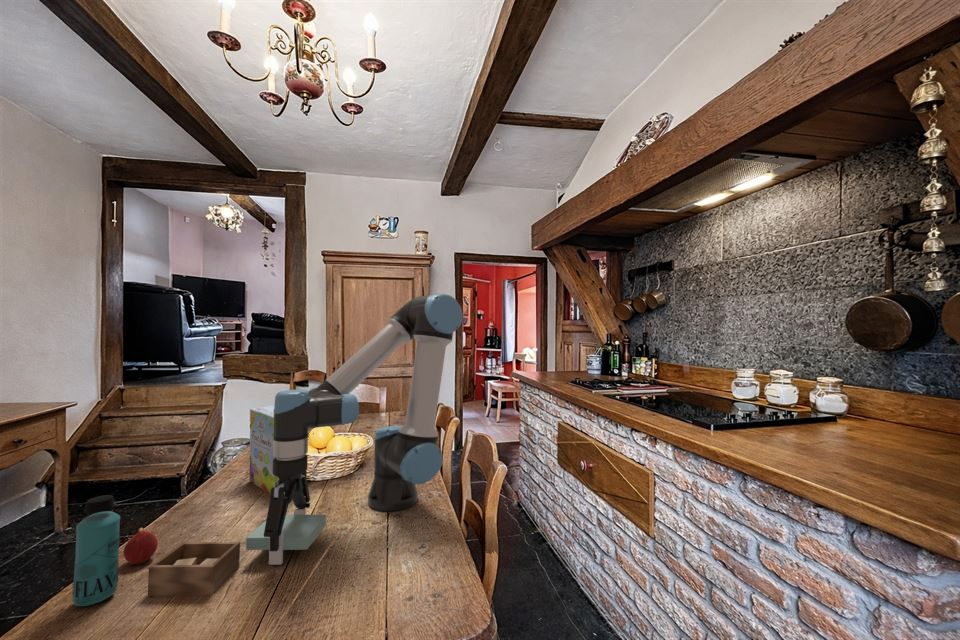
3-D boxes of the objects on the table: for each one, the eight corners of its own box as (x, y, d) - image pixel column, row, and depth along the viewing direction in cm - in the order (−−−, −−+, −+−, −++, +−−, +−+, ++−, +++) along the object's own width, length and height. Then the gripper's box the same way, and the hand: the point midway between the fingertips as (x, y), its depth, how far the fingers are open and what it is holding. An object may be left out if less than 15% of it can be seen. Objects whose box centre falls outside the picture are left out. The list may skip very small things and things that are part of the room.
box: (239, 569, 88) (240, 542, 89) (211, 597, 79) (212, 566, 79) (181, 570, 88) (182, 542, 88) (147, 598, 79) (148, 567, 79)
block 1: (196, 574, 86) (196, 557, 86) (189, 584, 82) (189, 566, 82) (176, 576, 85) (177, 560, 85) (169, 587, 81) (169, 569, 81)
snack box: (246, 482, 140) (248, 408, 141) (272, 475, 147) (274, 405, 147) (272, 499, 126) (274, 416, 127) (300, 491, 132) (302, 412, 133)
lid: (325, 529, 101) (325, 514, 101) (307, 555, 89) (307, 537, 89) (271, 530, 100) (272, 514, 101) (246, 555, 89) (246, 537, 89)
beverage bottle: (64, 619, 73) (69, 507, 73) (79, 598, 79) (84, 494, 79) (111, 608, 76) (115, 501, 76) (123, 588, 82) (126, 489, 82)
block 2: (223, 575, 85) (223, 558, 85) (212, 585, 82) (213, 568, 82) (206, 575, 85) (206, 558, 85) (195, 585, 82) (195, 568, 82)
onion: (163, 560, 92) (164, 524, 92) (134, 574, 86) (135, 536, 87) (145, 555, 94) (147, 520, 94) (116, 569, 88) (118, 532, 89)
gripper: (296, 442, 107) (294, 524, 107) (246, 473, 84) (243, 579, 83) (324, 442, 108) (322, 524, 107) (283, 473, 84) (280, 579, 83)
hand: (288, 548), depth 95 cm, fingers closed on lid, 11 cm apart
